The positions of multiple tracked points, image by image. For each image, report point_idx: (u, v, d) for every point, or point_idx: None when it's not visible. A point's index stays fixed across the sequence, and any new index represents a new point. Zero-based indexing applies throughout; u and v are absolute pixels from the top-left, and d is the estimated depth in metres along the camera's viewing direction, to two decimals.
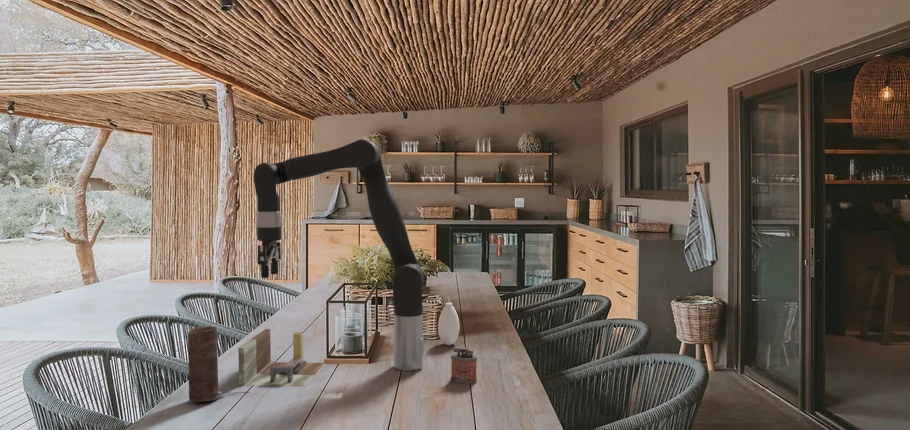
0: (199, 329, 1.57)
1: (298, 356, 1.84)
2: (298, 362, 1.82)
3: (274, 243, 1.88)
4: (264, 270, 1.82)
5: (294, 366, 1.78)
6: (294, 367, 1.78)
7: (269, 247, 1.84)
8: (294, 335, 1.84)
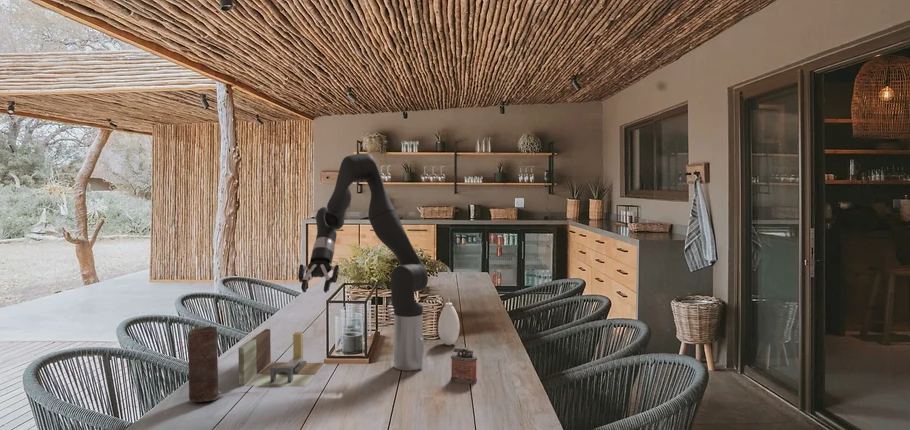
0: (199, 329, 1.57)
1: (298, 356, 1.84)
2: (298, 362, 1.82)
3: (323, 263, 2.04)
4: None
5: (294, 366, 1.78)
6: (294, 367, 1.78)
7: (310, 266, 2.03)
8: (294, 335, 1.84)
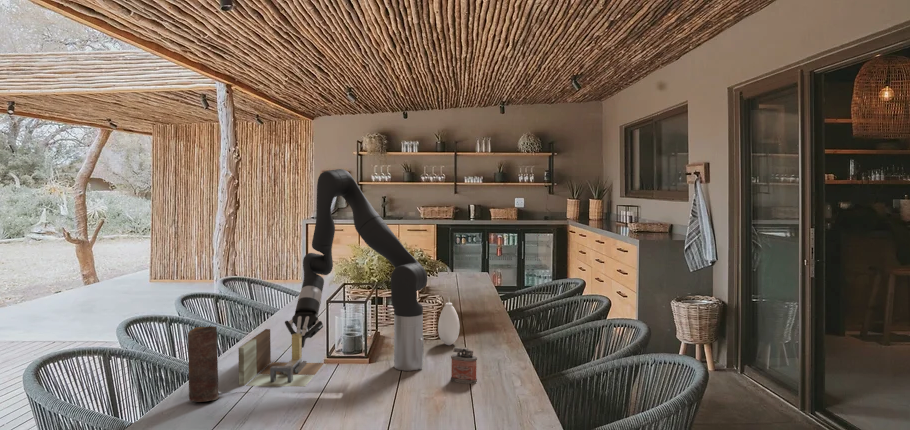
0: (199, 329, 1.57)
1: (297, 357, 1.83)
2: (297, 363, 1.80)
3: (309, 315, 1.93)
4: None
5: (293, 368, 1.76)
6: (293, 369, 1.76)
7: (295, 321, 1.91)
8: (293, 336, 1.83)
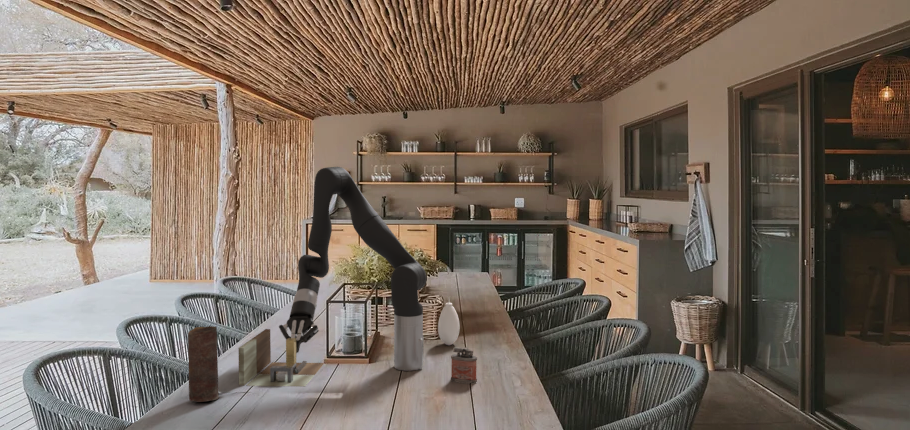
0: (199, 329, 1.57)
1: (291, 363, 1.77)
2: None
3: (304, 319, 1.87)
4: None
5: None
6: None
7: (289, 325, 1.86)
8: (287, 341, 1.77)
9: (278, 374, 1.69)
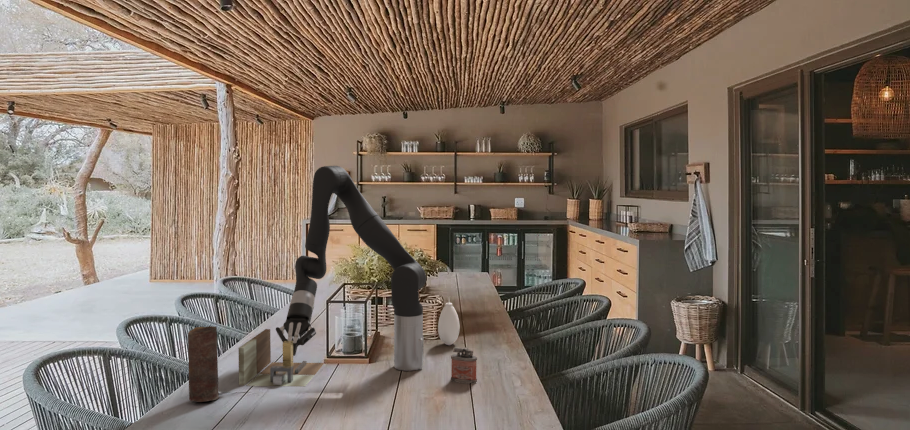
0: (199, 329, 1.57)
1: None
2: None
3: (301, 321, 1.84)
4: None
5: (283, 377, 1.67)
6: (283, 378, 1.67)
7: (286, 327, 1.82)
8: (284, 344, 1.74)
9: (274, 378, 1.65)
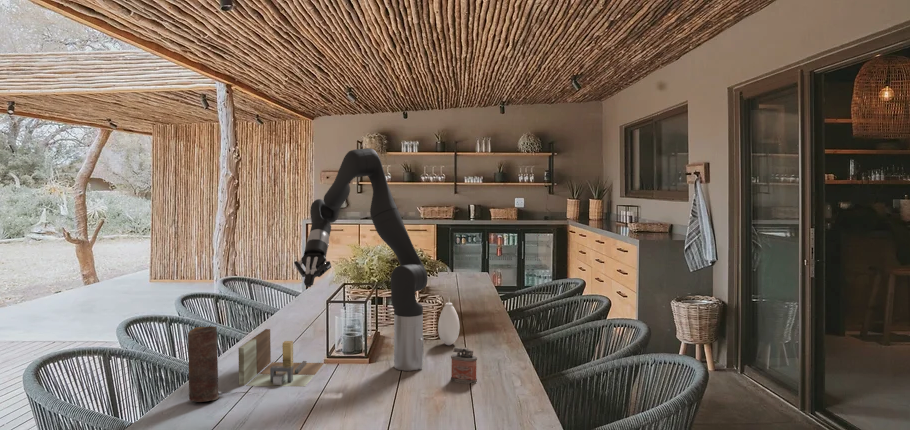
0: (199, 329, 1.57)
1: None
2: None
3: (317, 256, 2.00)
4: None
5: (283, 377, 1.67)
6: (283, 378, 1.67)
7: (304, 261, 1.99)
8: (283, 344, 1.74)
9: (274, 378, 1.65)
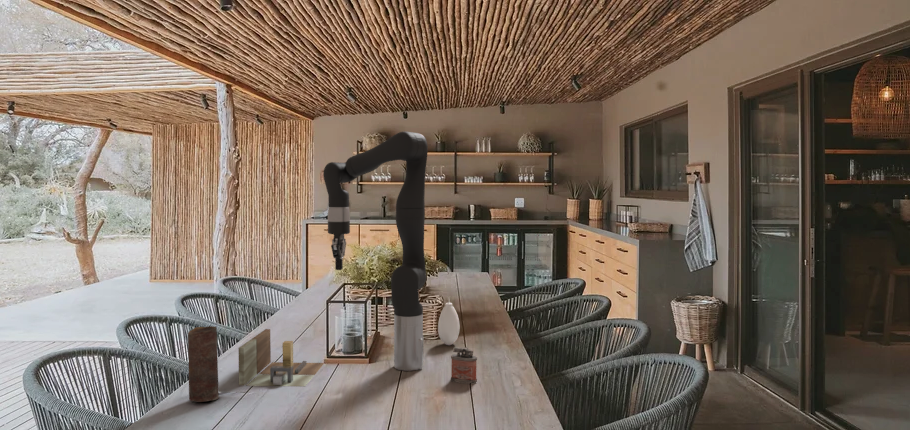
0: (199, 329, 1.57)
1: None
2: None
3: (343, 236, 2.04)
4: (338, 263, 2.01)
5: (283, 377, 1.67)
6: (283, 378, 1.67)
7: (340, 243, 1.99)
8: (283, 344, 1.74)
9: (274, 378, 1.65)
